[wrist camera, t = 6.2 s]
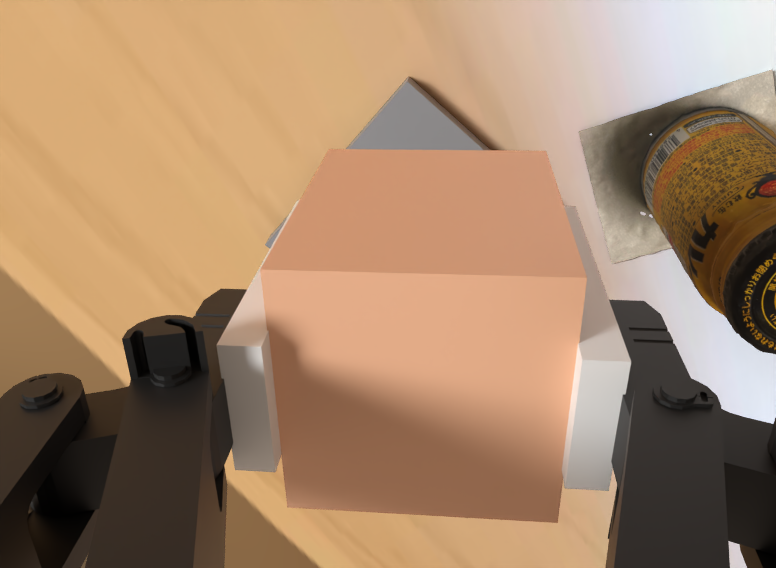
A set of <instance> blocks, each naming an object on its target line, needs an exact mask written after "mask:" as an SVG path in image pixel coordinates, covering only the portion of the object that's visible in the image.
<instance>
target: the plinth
mask: <svg viewBox="0 0 776 568" xmlns="http://www.w3.org/2000/svg"><path fill="white" fill-rule="evenodd" d="M346 149H382V150H490V149H489V148H488V147H487V146H486V145H484V144H483V143H482V142H481V141H480V140H479V139H478V138H477V137H476V136H474V135H473V134H472V133H471V132H470V131H469V130H468V129H467V128H466V127H464V126H463V125H462V124H461V123H460V122H459V121H458V120H457V119H456V118H454V117H453V116H452V115H451V114H450V113H449V112H448V111H447V110H446V109H444V108H443V107H442V106H441V105H440V104H439V103H438V102H437V101H435V100H434V99H433V98H432V97H431V96H430V95H429V94H428V93H427V92H425V91H424V90H423V89H422V88H421V87H420V86H419V85H418V84H417V83H415V82H414V81H413V80H412V79H411V78H410V77H408V78H407V79H406V80H405V81H404V82H403V84H402V85H401V86H400V87H399V88H398V89H397V91H396V92H395V93H394V94H393V95H392V96H391V97H390V99H389V100H388V101H387V102H386V103H385V104H384V106H383V107H382V108H381V109H380V110H379V111H378V112H377V114H376V115H375V116H374V117H373V118H372V119H371V121H370V122H369V123H368V124H367V125H366V126H365V127H364V129H363V130H362V131H361V132H360V133H359V134H358V136H357V137H356V138H355V139H354V140H353V141H352V142H351V144H350V145H349V146H348V147H347V148H346ZM288 216H289V215H288ZM288 216H287V217H288ZM287 217H286V219H287ZM286 219H285V220H284V221H283V222H282V223H281V224H280V225H279V227H278V228H277V229H276V230H275V231H274V232H273V233H272V235H271V236H270V237H269V239H268V241H267V243H266V244H265V245H266V246H267V247H269V248H271V246H272V244H273V243H274V241H275V239H276V237H277V235H278V234H279V232H280V230H281V228H282V226H283V225H284V223H285V221H286Z"/></svg>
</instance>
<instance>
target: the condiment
mask: <svg viewBox="0 0 776 568" xmlns="http://www.w3.org/2000/svg"><path fill="white" fill-rule="evenodd" d="M650 133H652V136H650V135H649V134H650ZM579 135H580V139H581V143H582V146H583V151H584V155H585V159H586V163H587V167H588V171H589V175H590V180H591V184H592V187H593V191H594V195H595V199H596V203H597V207H598V212H599V215H600V219H601V223H602V227H603V231H604V235H605V239H606V243H607V247H608V251H609V255H610V259H611V263H612V264H613V263H617V262H621V261H626V260H629V259H633V258H636V257H639V256H643V255H648V254H652V253H655V252H658V251H661V250H665V249H670V248H673V250H674V251H675V253H676V255H677V257H678V258H679V260H680V262H681V264H682V266H683V268H684V270H685V271H686V273H687V274H688V275H689V277H690V279H691V280H692V282H693V284H694V286H695V287H696V289H697V290H698V292H699V293H700V295H701V296H702V297H703V298H704V300H705V301H706V302H707V303H708V304H709V305H710V306H711V307H712V308H714V309H715V310H716V311H718V312H719V313H721V314H723V315H724V316H725V317H726V318H727V319H728V321H729V323H730V324H731V325H732V328H733V329H734V330H735V332H736V333H738V334H739V335H740V336H741V337H742V338H743V339H744V340H746V341H747V342H748V343H750V344H751V345H753V346H754V347H755V348H756V349H758V350H760V351H762V352H767V353H773V354H776V94H775V85H774V77H773V70H769V71H766V72H763V73H760V74H757V75H753V76H750V77H747V78H743V79H740V80H737V81H733V82H730V83H727V84H724V85H721V86H719V87H715V88H711V89H708V90H705V91H701V92H698V93H695V94H693V95H690V96H686V97H683V98H680V99H677V100H675V101H671V102H668V103H665V104H663V105H660V106H658V107H655V108H652V109H648V110H644V111H641V112H638V113H635V114H631V115H628V116H624V117H621V118H618V119H615V120H613V121H610V122H607V123H605V124H602V125H599V126H595V127H592V128H589V129H586V130H582V131H579ZM640 211H641V212H645V213H646V215H645V216H643V215H641V214H640ZM649 214H652V216H653V218H650V217H649Z"/></svg>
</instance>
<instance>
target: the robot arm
mask: <svg viewBox="0 0 776 568" xmlns="http://www.w3.org/2000/svg"><path fill="white" fill-rule="evenodd" d="M299 201H300V200H297V201H296V203H295V205H294V207H293V208H292V210H291V212H290V214H289V216H288V217H287V219H286V221H285V223H284V225H283V226H282V228H281V230H280V232H279V234H278V235H277V237H276V239H275V241H274V243H273V244H272V246H271V248H270V250H269V252H268V253H267V255H266V257H265V259H264V261H263V262H262V264H261V266H260V268H259V270H258V271H257V273H256V275H255V277H254V279H253V280H252V282H251V284H250V286H249V287H248V289H247V290H244V289H220V290H219V291H217V292H216V293H214V294H213V295H211V296H210V297H208V298H207V299H205V300H204V301H203V303H202V304H201V306H200V307H199V309H198V310H197V312H196V316H194V317H193V318H190V317H186V316H182V315H166V316H160V317H155V318H151V319H148V320H146V321H143V322H140V323H138V324H136V325H135V326H134V327H132V328H131V329H129V330H128V331H127V332H126V334H125V335H124V337H123V338H122V341H123V345H124V350H125V354H126V359H127V363H128V368H129V372H130V377H131V382H130V386H128V387H125V388H121V389H116V390H111V391H104V392H97V393H91V394H85V392H84V388H83V385H82V382H81V380H80V379H78V378H76V377H75V376H73V375H69V374H63V373H54V374H43V375H39V376H35V377H32V378H29V379H27V380H25V381H23V382H21V383H19V384H17V385H15V386H13V387H12V388H11V389H10V390H9V391H7V392H6V393H5V394H4V395H3V396H2V397H1V398H0V568H81V566H82V564H83V562H84V560H85V558H86V557H87V555H88V558H87V562H86V566H85V568H224V558H225V529H226V502H227V480H226V474H225V468H224V464H225V462H226V459H227V457H228V455H229V452H230V450H231V448H232V452H233V459H234V466H235V470H246V471H264V472H276V469H277V466H278V463H279V460H280V457H281V445H280V435H279V426H278V416H277V407H276V397H275V388H274V378H273V369H272V359H271V350H270V340H269V331H267V325H266V316H265V308H264V299H263V290H262V282H261V273H260V269H261V267H262V265H263V264H264V262H265V260H266V258H267V257H268V255H269V253H270V251H271V250H272V248H273V246H274V244H275V243H276V241H277V239H278V237H279V236H280V234H281V232H282V230H283V229H284V227H285V225H286V223H287V222H288V220H289V218H290V216H291V215H292V213H293V211H294V209H295V208H296V206H297V204H298V202H299ZM564 208H565V211H566V214H567V217H568V220H569V223H570V226H571V229H572V233H573V236H574V239H575V242H576V245H577V248H578V251H579V254H580V257H581V260H582V263H583V267H584V270H585V273H586V276H587V283H586V291H585V300H584V308H583V316H582V325H581V333H580V341H579V343H578V348H577V356H576V363H575V371H574V379H573V386H572V394H571V402H570V410H569V417H568V425H567V433H566V441H565V448H564V456H563V464H562V475H563V480H564V486H565V488H568V489H586V490H603V491H609V486H610V480H611V475H612V469H613V470H614V474H615V478H616V481H617V490H616V496H615V501H614V506H613V512H612V517H611V523H610V528H609V534H608V539H609V545H608V553H607V560H606V568H730V563H729V545H728V541H731V542H734V543H737V544H740V550H741V553H742V555H743V558H744V561H745V563H746V566H747V568H776V418H775V421H774V424H771V423H766V422H762V421H758V420H754V419H750V418H746V417H742V416H739V415H735V414H732V413H729V412H727V411H725V410H723V409H721V405H720V402H719V400H718V397H717V395H716V394H715V393H713V392H712V391H711V390H710V389H709V388H708V387H707V386H705V385H703V384H701V383H699V382H697V381H696V380H694V379H691V378H690V375H689V373H688V371H687V369H686V367H685V365H684V363H683V361H682V358H681V356H680V354H679V352H678V350H677V348H676V346H675V344H673V339H672V337H671V335H670V333H669V332H667V327H666V325H665V322H664V320H663V318H662V316H661V314H660V313H658V312H657V311H656V310H655V309H653V308H652V307H651V306H650V305H648V304H647V303H646V302H645V301H627V300H609V299H608V296H607V293H606V290H605V287H604V285H603V282H602V279H601V276H600V274H599V271H598V268H597V265H596V262H595V260H594V257H593V254H592V251H591V249H590V246H589V243H588V240H587V237H586V235H585V232H584V229H583V226H582V224H581V221H580V218H579V215H578V212H577V210H576V207H575V206H564ZM88 553H89V554H88Z"/></svg>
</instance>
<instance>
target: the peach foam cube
mask: <svg viewBox="0 0 776 568" xmlns="http://www.w3.org/2000/svg"><path fill="white" fill-rule="evenodd" d="M260 273H261V282H262V290H263V299H264V308H265V316H266V325H267V331H269V340H270V350H271V359H272V369H273V378H274V388H275V397H276V407H277V416H278V426H279V435H280V445H281V455H282V464H283V472H284V481H285V490H286V498H287V507H291V508H308V509H326V510H343V511H361V512H378V513H396V514H413V515H431V516H448V517H466V518H483V519H501V520H518V521H536V522H553V523H558V516H559V507H560V499H561V491H562V482H563V475H562V464H563V456H564V448H565V441H566V433H567V425H568V417H569V410H570V402H571V394H572V386H573V379H574V371H575V363H576V356H577V348H578V343H579V341H580V333H581V325H582V316H583V308H584V300H585V291H586V283H587V276H586V273H585V270H584V267H583V263H582V260H581V257H580V254H579V251H578V248H577V245H576V242H575V239H574V236H573V233H572V229H571V226H570V223H569V220H568V217H567V214H566V211H565V208H564V205H563V202H562V199H561V196H560V192H559V189H558V186H557V183H556V180H555V177H554V174H553V171H552V168H551V165H550V162H549V159H548V155H547V152H546V151H500V150H382V149H329V150H328V152H327V153H326V155H325V157H324V159H323V160H322V162H321V164H320V166H319V167H318V169H317V171H316V173H315V174H314V176H313V178H312V180H311V181H310V183H309V185H308V187H307V188H306V190H305V192H304V194H303V195H302V197H301V199H300V201H299V202H298V204H297V206H296V208H295V209H294V211H293V213H292V215H291V216H290V218H289V220H288V222H287V223H286V225H285V227H284V229H283V230H282V232H281V234H280V236H279V237H278V239H277V241H276V243H275V244H274V246H273V248H272V250H271V251H270V253H269V255H268V257H267V258H266V260H265V262H264V264H263V265H262V267H261V269H260Z"/></svg>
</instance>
